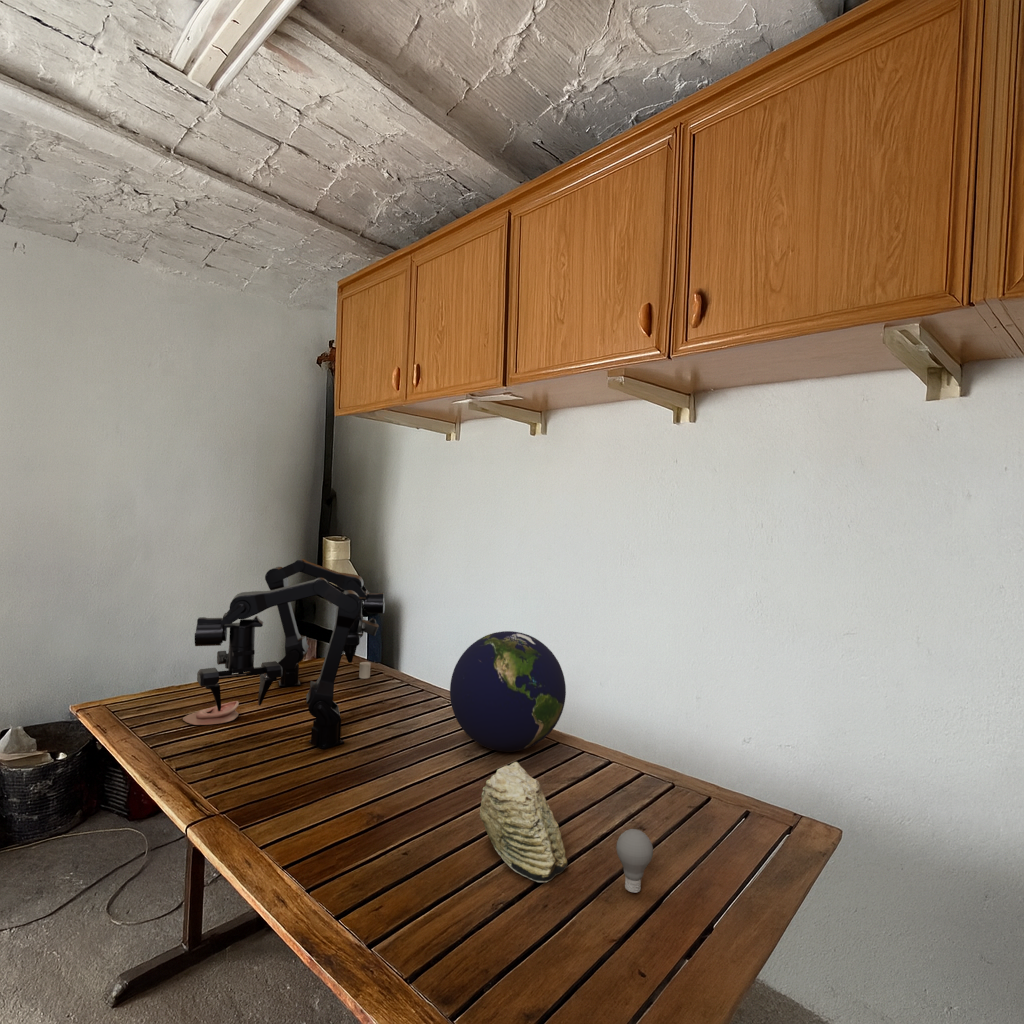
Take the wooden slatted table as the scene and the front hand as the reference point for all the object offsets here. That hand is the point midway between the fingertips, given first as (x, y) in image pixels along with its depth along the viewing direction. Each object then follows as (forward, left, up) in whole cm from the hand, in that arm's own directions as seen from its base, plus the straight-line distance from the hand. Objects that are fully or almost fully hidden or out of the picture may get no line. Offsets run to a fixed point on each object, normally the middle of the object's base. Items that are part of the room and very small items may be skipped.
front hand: (239, 707), depth 155 cm
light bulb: (-21, +99, -10) cm, 101 cm away
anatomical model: (-4, -26, -10) cm, 28 cm away
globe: (-50, +43, -10) cm, 67 cm away
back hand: (-51, -28, -2) cm, 59 cm away
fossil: (-15, +79, -10) cm, 81 cm away
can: (-60, -33, -10) cm, 69 cm away
